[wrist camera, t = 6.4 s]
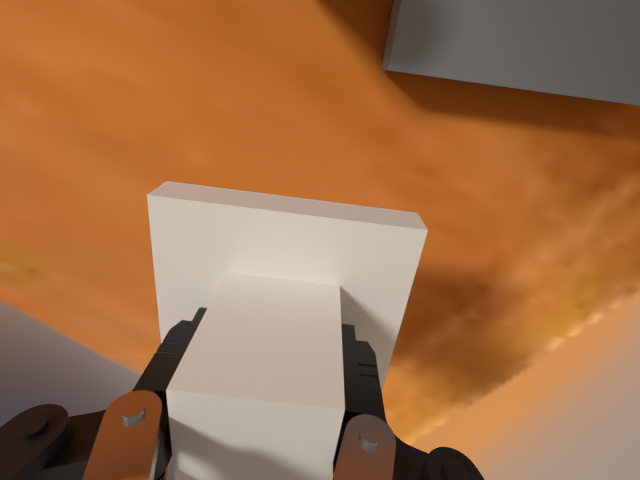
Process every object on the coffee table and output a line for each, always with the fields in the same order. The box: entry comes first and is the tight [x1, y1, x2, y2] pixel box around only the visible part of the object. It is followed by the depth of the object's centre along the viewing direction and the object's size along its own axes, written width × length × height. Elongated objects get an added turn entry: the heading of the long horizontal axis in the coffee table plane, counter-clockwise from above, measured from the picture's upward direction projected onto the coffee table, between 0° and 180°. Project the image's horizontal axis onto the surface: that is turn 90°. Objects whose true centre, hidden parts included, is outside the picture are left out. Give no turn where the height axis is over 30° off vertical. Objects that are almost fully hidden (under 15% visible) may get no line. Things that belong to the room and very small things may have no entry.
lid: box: [147, 181, 428, 480], centre depth 12 cm, size 9×9×6 cm
